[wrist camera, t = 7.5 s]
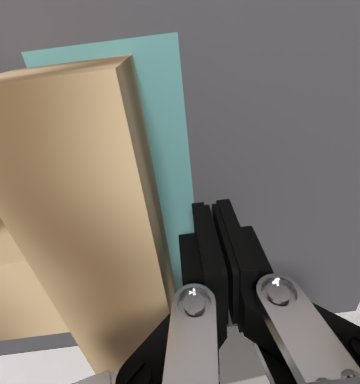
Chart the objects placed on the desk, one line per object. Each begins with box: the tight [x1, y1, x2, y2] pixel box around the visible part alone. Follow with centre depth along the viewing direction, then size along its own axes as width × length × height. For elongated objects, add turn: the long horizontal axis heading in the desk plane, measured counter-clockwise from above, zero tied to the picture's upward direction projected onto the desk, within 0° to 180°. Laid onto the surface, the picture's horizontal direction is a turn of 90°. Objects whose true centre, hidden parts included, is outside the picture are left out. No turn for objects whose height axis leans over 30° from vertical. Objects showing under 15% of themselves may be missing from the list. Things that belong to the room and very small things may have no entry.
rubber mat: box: [0, 0, 360, 356], centre depth 13 cm, size 28×20×1 cm
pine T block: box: [0, 54, 176, 374], centre depth 11 cm, size 12×14×4 cm
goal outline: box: [21, 32, 195, 292], centre depth 13 cm, size 13×15×1 cm
